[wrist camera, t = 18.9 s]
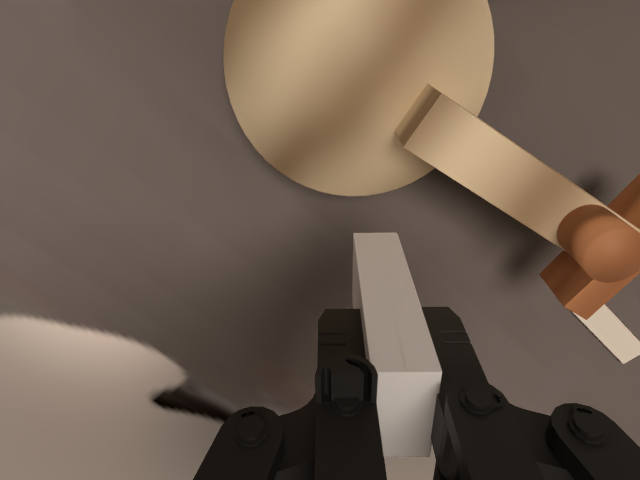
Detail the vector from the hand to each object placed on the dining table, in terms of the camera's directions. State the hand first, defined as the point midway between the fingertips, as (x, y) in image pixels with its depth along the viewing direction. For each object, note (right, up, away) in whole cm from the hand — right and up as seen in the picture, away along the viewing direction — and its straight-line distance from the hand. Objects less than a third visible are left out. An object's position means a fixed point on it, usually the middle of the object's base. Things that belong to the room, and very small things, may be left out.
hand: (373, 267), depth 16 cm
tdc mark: (+17, -5, +15) cm, 23 cm away
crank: (+4, +7, +7) cm, 10 cm away
